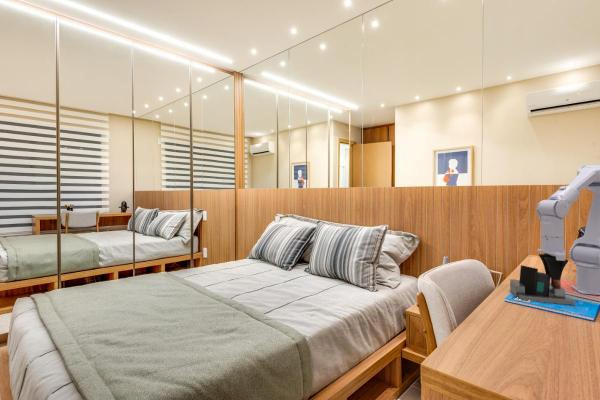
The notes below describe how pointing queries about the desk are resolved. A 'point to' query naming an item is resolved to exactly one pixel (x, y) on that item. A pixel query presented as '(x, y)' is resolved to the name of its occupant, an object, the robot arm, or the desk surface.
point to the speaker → (534, 281)
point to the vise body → (519, 292)
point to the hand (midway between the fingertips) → (553, 277)
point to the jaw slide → (556, 289)
